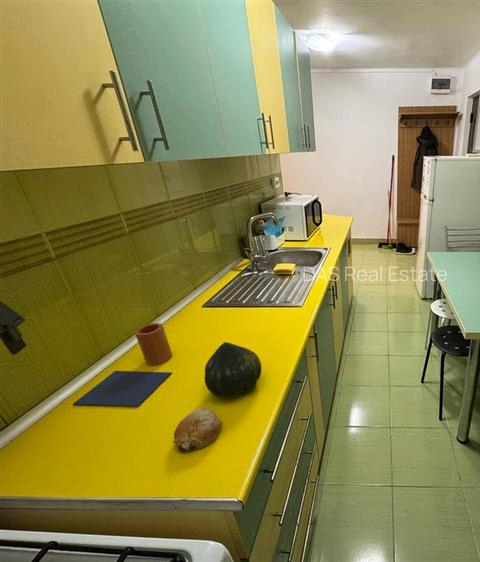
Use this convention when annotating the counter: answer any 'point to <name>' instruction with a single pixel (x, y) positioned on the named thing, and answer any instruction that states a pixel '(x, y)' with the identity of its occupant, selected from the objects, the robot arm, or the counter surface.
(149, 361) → the jar
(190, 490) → the counter surface
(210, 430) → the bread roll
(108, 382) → the cloth
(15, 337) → the robot arm
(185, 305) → the counter surface
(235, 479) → the counter surface
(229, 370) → the squash
